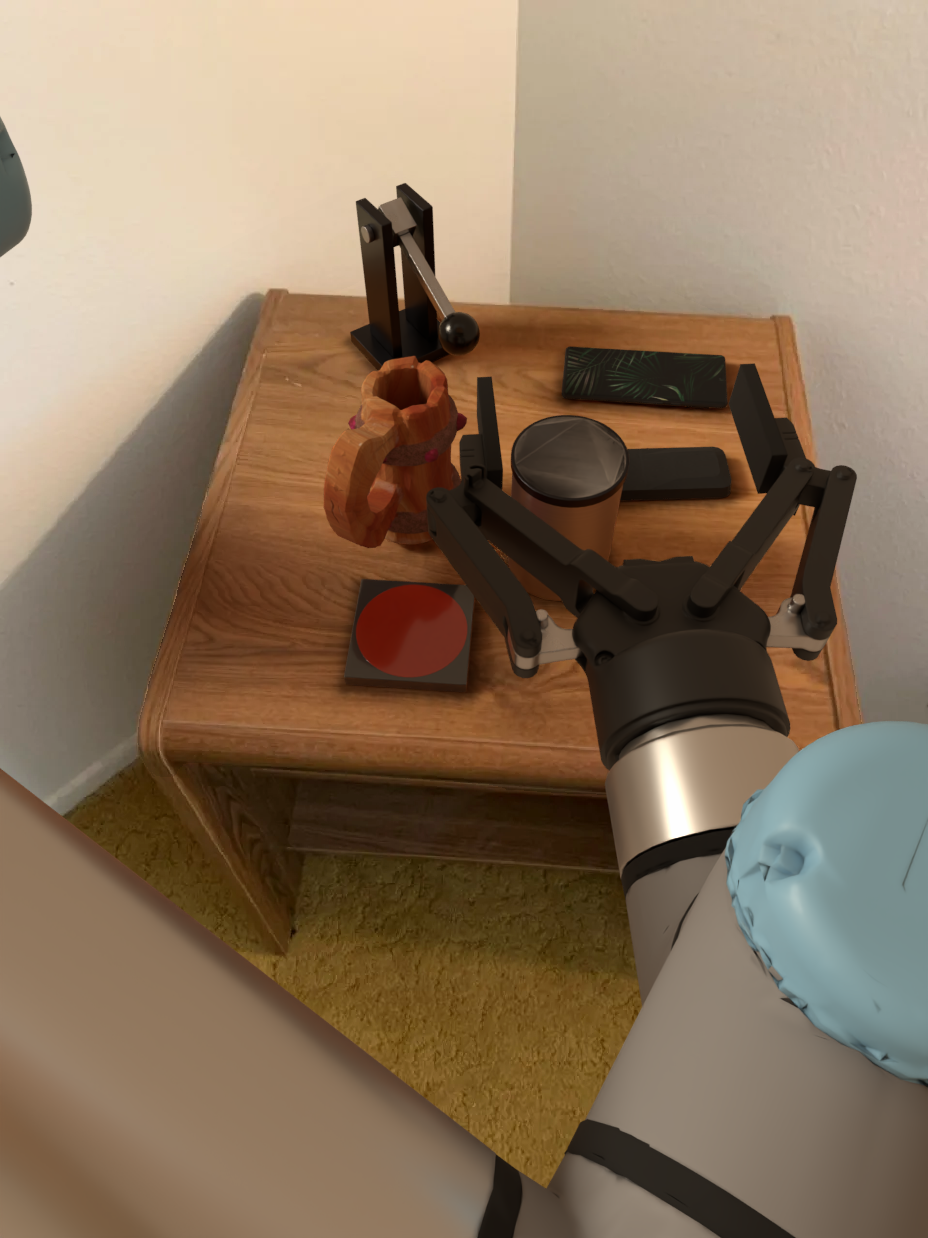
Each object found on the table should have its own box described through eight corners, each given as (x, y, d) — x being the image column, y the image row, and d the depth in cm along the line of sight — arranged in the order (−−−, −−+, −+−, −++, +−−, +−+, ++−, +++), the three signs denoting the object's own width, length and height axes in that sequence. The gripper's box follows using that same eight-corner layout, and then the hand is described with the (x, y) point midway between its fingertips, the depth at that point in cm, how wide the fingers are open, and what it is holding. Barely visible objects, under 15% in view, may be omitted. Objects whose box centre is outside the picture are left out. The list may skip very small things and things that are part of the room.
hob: (345, 685, 68) (343, 676, 67) (362, 587, 73) (361, 578, 72) (466, 693, 68) (466, 684, 67) (475, 594, 73) (475, 584, 72)
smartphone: (565, 344, 88) (725, 354, 87) (565, 353, 89) (723, 362, 88) (561, 393, 84) (728, 404, 83) (560, 402, 85) (726, 412, 84)
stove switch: (459, 350, 89) (456, 207, 77) (388, 381, 87) (374, 239, 75) (420, 312, 93) (412, 169, 80) (351, 341, 90) (331, 199, 78)
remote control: (555, 507, 79) (733, 498, 78) (556, 492, 77) (737, 483, 77) (551, 464, 81) (722, 455, 81) (551, 450, 80) (726, 441, 79)
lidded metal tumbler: (504, 600, 72) (508, 497, 63) (507, 520, 77) (512, 412, 67) (610, 605, 72) (632, 502, 62) (607, 524, 77) (627, 416, 67)
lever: (480, 353, 81) (492, 334, 78) (446, 369, 80) (456, 350, 76) (401, 214, 81) (409, 189, 78) (365, 228, 80) (372, 203, 77)
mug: (402, 463, 81) (389, 320, 69) (484, 496, 79) (486, 355, 66) (307, 580, 74) (273, 445, 61) (394, 621, 71) (377, 489, 59)
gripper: (388, 815, 39) (381, 453, 51) (964, 777, 40) (824, 430, 52) (373, 733, 33) (368, 343, 45) (1054, 691, 34) (872, 319, 46)
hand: (613, 389), depth 48 cm, fingers open, 13 cm apart
